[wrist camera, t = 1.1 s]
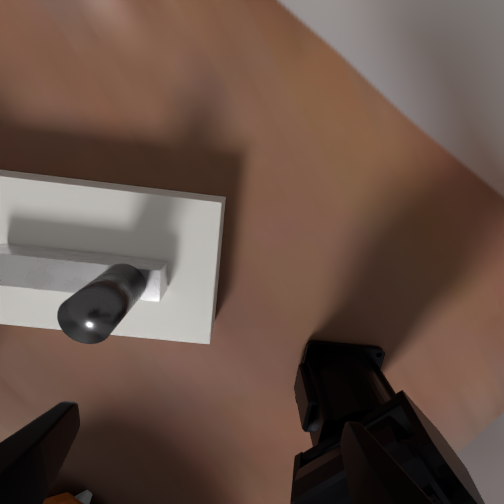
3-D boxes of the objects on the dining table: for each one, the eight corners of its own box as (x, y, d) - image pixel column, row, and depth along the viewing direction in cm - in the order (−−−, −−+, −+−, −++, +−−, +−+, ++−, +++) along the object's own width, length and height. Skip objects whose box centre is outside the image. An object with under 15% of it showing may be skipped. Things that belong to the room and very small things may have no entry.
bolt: (168, 258, 17) (130, 301, 12) (167, 292, 18) (131, 347, 12) (3, 240, 17) (-114, 276, 11) (9, 276, 17) (-98, 325, 12)
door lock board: (225, 196, 19) (214, 212, 13) (214, 320, 22) (201, 380, 16) (-136, 153, 18) (-334, 147, 12) (-95, 289, 21) (-236, 340, 15)
